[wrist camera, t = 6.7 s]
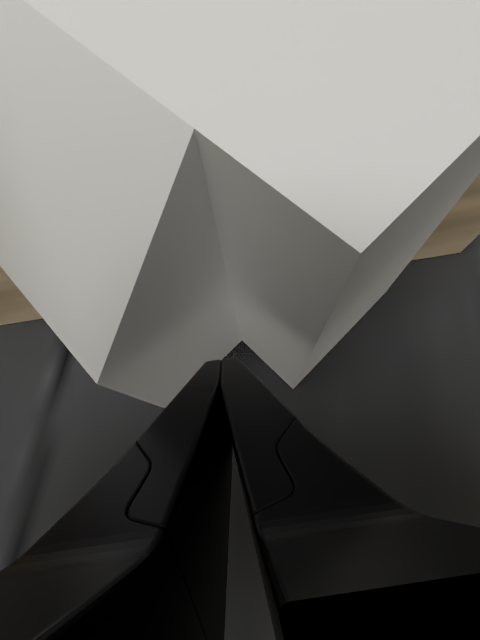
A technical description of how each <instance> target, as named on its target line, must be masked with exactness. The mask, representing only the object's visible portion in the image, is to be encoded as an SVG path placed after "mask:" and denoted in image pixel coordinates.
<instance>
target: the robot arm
mask: <svg viewBox="0 0 480 640" xmlns="http://www.w3.org/2000/svg"><path fill="white" fill-rule="evenodd" d="M232 449H234V453H235V458H236V462H237V467H238V471H239V476H240V480H241V485H242V489H243V494H244V498H245V503H246V507H247V512H248V516H249V521H250V525H251V530H252V534H253V539H254V543H255V547H256V552H257V556H258V561H259V565H260V570H261V574H262V579H263V583H264V588H265V592H266V597H267V601H268V606H269V610H270V615H271V619H272V624H273V628H274V633H275V637H276V640H480V528H479V527H475V526H470V525H465V524H460V523H455V522H450V521H445V520H441V519H436V518H432V517H428V516H425V515H422V514H420V513H418V512H416V511H414V510H412V509H409V508H408V507H406V506H404V505H403V504H401V503H400V502H398V501H397V500H395V499H394V498H392V497H391V496H390V495H388V494H387V493H386V492H385V491H383V490H382V489H381V488H379V487H378V486H377V485H376V484H374V483H373V482H372V481H370V480H369V479H368V478H366V477H365V476H364V475H363V474H361V473H360V472H359V471H357V470H356V469H355V468H354V467H352V466H351V465H350V464H348V463H347V462H346V461H344V460H343V459H342V458H341V457H339V456H338V455H337V454H336V453H334V452H333V451H332V450H331V449H330V448H328V447H327V446H326V445H325V444H323V443H322V442H321V441H320V440H319V439H318V438H317V437H316V436H315V435H314V434H313V433H312V432H311V431H309V430H308V429H307V428H306V427H305V425H304V424H303V423H302V422H301V421H300V420H299V419H297V418H296V416H295V415H294V414H293V413H292V412H291V411H290V410H289V409H288V408H287V407H286V406H285V405H284V404H283V403H282V402H281V401H280V400H279V399H278V398H277V397H276V396H275V395H274V394H273V393H272V392H271V391H270V390H269V389H268V388H267V387H266V386H265V385H264V384H263V383H262V382H261V381H260V380H259V379H258V378H257V376H256V375H255V374H254V373H253V372H252V371H251V370H250V369H249V368H248V367H247V366H246V365H245V364H244V363H243V362H242V361H241V360H240V359H239V358H238V357H231V358H225V359H223V360H222V361H221V360H212V361H207V362H205V363H204V364H203V365H202V367H201V368H200V369H199V370H198V371H197V372H196V373H195V375H194V376H193V377H192V378H191V379H190V380H189V381H188V383H187V384H186V385H185V386H184V387H183V388H182V389H181V391H180V392H179V393H178V394H177V395H176V396H175V397H174V399H173V400H172V401H171V402H170V403H169V404H168V405H167V407H166V408H165V409H164V410H163V411H162V412H161V413H160V415H159V416H158V417H157V418H156V419H155V420H154V421H153V423H152V424H151V425H150V426H149V427H148V428H147V429H146V431H145V432H144V433H143V434H142V435H141V436H140V438H139V439H138V440H137V441H136V444H133V445H132V446H131V448H130V449H129V450H128V451H127V452H126V453H125V454H124V456H123V457H122V458H121V459H120V460H119V461H118V462H117V463H116V464H115V465H114V466H113V468H112V469H111V470H110V471H109V472H108V473H107V474H106V475H105V476H104V477H103V478H102V479H101V480H100V481H99V482H98V483H97V484H96V485H95V486H94V487H93V488H92V489H91V490H90V491H89V492H88V493H87V494H86V495H85V496H84V497H83V498H82V499H81V500H80V501H79V502H78V503H77V504H76V505H74V506H73V507H72V508H71V509H70V510H69V511H68V512H67V513H66V514H65V515H64V516H63V517H62V518H61V519H60V520H59V521H58V522H57V523H56V524H55V525H54V526H53V527H52V528H51V529H49V530H48V531H47V532H46V533H45V534H44V535H43V536H42V537H41V538H40V539H39V540H38V541H37V542H36V543H35V544H34V545H33V546H32V547H31V548H30V549H28V550H27V551H26V552H25V553H24V554H23V555H22V556H21V557H20V558H18V559H17V560H16V561H14V562H13V563H12V564H10V565H9V566H8V567H6V568H5V569H3V570H2V571H0V640H224V629H225V607H226V585H227V563H228V541H229V519H230V497H231V475H232Z"/></svg>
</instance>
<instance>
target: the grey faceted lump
mask: <svg viewBox="0 0 480 640" xmlns="http://www.w3.org/2000/svg"><path fill="white" fill-rule="evenodd" d="M479 173H480V0H0V267H1V268H2V269H3V270H4V271H5V273H6V274H7V275H8V276H9V278H10V279H11V280H12V281H13V282H14V284H15V285H16V286H17V287H18V289H19V290H20V291H21V292H22V293H23V295H24V296H25V297H26V298H27V299H28V301H29V302H30V303H31V304H32V306H33V307H34V308H35V309H36V310H37V312H38V313H39V314H40V315H41V317H42V318H43V319H44V320H45V321H46V323H47V324H48V325H49V326H50V328H51V329H52V330H53V331H54V332H55V334H56V335H57V336H58V337H59V338H60V340H61V341H62V342H63V343H64V345H65V346H66V347H67V348H68V349H69V351H70V352H71V353H72V354H73V356H74V357H75V358H76V359H77V360H78V362H79V363H80V364H81V365H82V367H83V368H84V369H85V370H86V371H87V373H88V374H89V375H90V376H91V377H92V379H93V380H94V381H95V382H96V384H98V385H101V386H104V387H107V388H109V389H112V390H115V391H118V392H120V393H123V394H126V395H129V396H132V397H134V398H137V399H140V400H143V401H145V402H148V403H151V404H154V405H157V406H159V407H162V408H166V407H167V405H168V404H169V403H170V402H171V401H172V400H173V399H174V397H175V396H176V395H177V394H178V393H179V392H180V391H181V389H182V388H183V387H184V386H185V385H186V384H187V383H188V381H189V380H190V379H191V378H192V377H193V376H194V375H195V373H196V372H197V371H198V370H199V369H200V368H201V367H202V365H203V364H204V363H205V362H207V361H212V360H222V359H223V358H224V357H225V356H226V355H227V354H228V353H229V352H230V351H232V350H233V349H234V348H235V347H236V346H237V345H238V344H239V343H240V342H241V341H243V342H244V343H245V344H246V345H247V346H248V347H249V348H250V349H251V350H253V351H254V352H255V353H256V354H257V355H258V356H259V357H260V358H261V359H262V360H263V361H264V362H265V363H266V364H267V365H268V366H269V367H270V368H271V369H272V370H273V371H274V372H275V373H277V374H278V375H279V376H280V377H281V378H282V379H283V380H284V381H285V382H286V383H287V384H288V385H289V386H290V387H291V388H292V389H294V388H295V387H296V386H297V385H298V384H299V383H300V382H301V381H302V379H303V378H304V377H305V376H306V375H307V374H308V373H309V372H310V371H311V370H312V369H313V368H314V367H315V366H316V365H317V364H318V363H319V362H320V361H321V360H322V359H323V357H324V356H325V355H326V354H327V353H328V352H329V351H330V350H331V349H332V348H333V347H334V346H335V345H336V344H337V343H338V342H339V341H340V340H341V339H342V338H343V337H344V335H345V334H346V333H347V332H348V331H349V330H350V329H351V328H352V327H353V326H354V325H355V324H356V323H357V322H358V321H359V320H360V319H361V318H362V317H363V316H364V315H365V313H366V312H367V311H368V310H369V309H370V308H371V307H372V306H373V305H374V304H375V303H376V302H377V301H378V300H379V299H380V298H381V297H382V296H383V295H384V294H385V292H386V291H387V290H388V289H389V287H390V286H391V285H392V284H393V282H394V281H395V280H396V279H397V277H398V276H399V275H400V273H401V272H402V271H403V270H404V268H405V267H406V266H407V265H408V263H409V262H410V261H411V260H412V258H413V257H414V256H415V254H416V253H417V252H418V251H419V249H420V248H421V247H422V246H423V244H424V243H425V242H426V240H427V239H428V238H429V237H430V235H431V234H432V233H433V232H434V230H435V229H436V228H437V227H438V225H439V224H440V223H441V221H442V220H443V219H444V218H445V216H446V215H447V214H448V213H449V211H450V210H451V209H452V208H453V206H454V205H455V204H456V202H457V201H458V200H459V199H460V197H461V196H462V195H463V194H464V192H465V191H466V190H467V188H468V187H469V186H470V185H471V183H472V182H473V181H474V180H475V178H476V177H477V176H478V175H479Z"/></svg>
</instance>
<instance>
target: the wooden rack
mask: <svg viewBox="0 0 480 640" xmlns="http://www.w3.org/2000/svg"><path fill="white" fill-rule="evenodd" d="M479 234H480V173H479V175H478V176H477V177H476V178H475V180H474V181H473V182H472V183H471V185H470V186H469V187H468V188H467V190H466V191H465V192H464V194H463V195H462V196H461V197H460V199H459V200H458V201H457V202H456V204H455V205H454V206H453V208H452V209H451V210H450V211H449V213H448V214H447V215H446V216H445V218H444V219H443V220H442V221H441V223H440V224H439V225H438V227H437V228H436V229H435V230H434V232H433V233H432V234H431V235H430V237H429V238H428V239H427V240H426V242H425V243H424V244H423V246H422V247H421V248H420V249H419V251H418V252H417V253H416V254H415V256H414V257H413V258H412V260H417V259H424V258H430V257H436V256H443V255H449V254H455V253H461V252H462V251H463V250H464V249H465V248H466V247H467V246H468V245H469V244H470V243H471V242H472V241H473V240H474V239H475V238H476V237H477V236H478V235H479ZM37 319H43V318H42V317H41V315H40V314H39V313H38V312H37V310H36V309H35V308H34V307H33V306H32V304H31V303H30V302H29V301H28V299H27V298H26V297H25V296H24V295H23V293H22V292H21V291H20V290H19V289H18V287H17V286H16V285H15V284H14V282H13V281H12V280H11V279H10V278H9V276H8V275H7V274H6V273H5V271H4V270H3V269H2V268H1V267H0V325H5V324H12V323H18V322H24V321H31V320H37Z"/></svg>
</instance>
